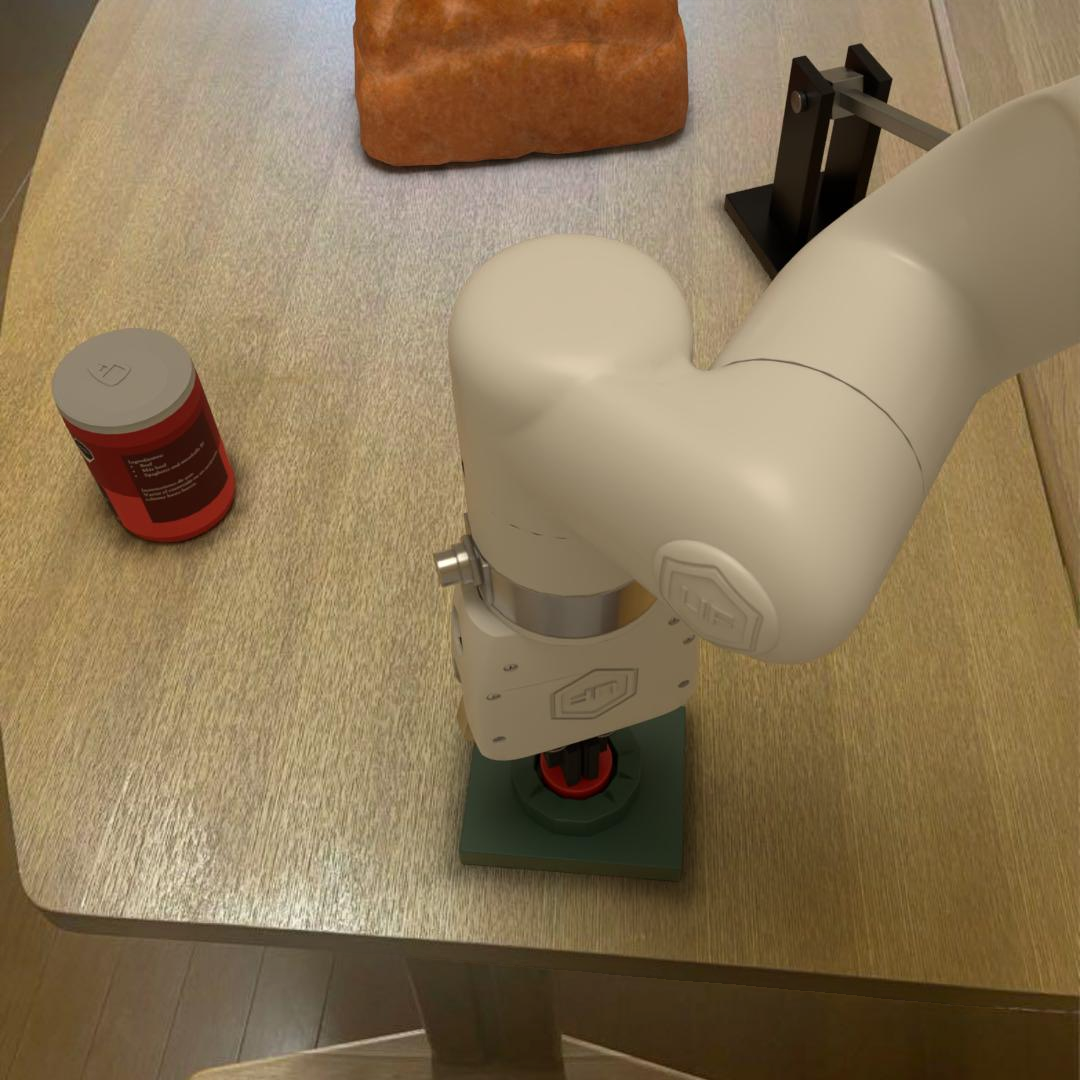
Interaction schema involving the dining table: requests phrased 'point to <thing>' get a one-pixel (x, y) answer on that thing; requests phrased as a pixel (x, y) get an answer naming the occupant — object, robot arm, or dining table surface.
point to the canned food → (146, 432)
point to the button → (584, 788)
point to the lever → (878, 110)
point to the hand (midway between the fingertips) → (573, 756)
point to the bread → (515, 77)
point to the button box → (584, 810)
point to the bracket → (811, 164)
